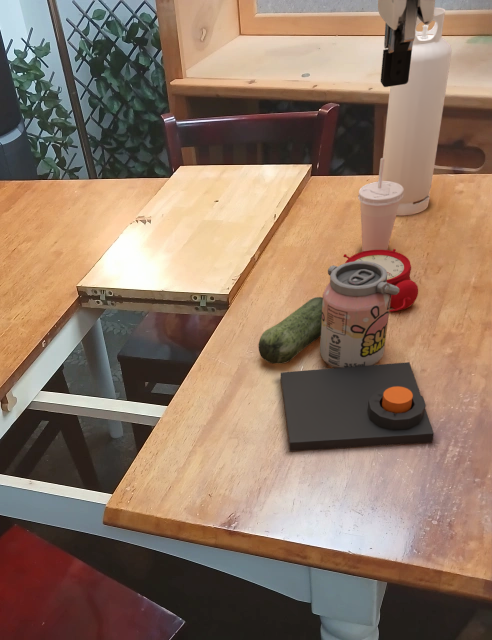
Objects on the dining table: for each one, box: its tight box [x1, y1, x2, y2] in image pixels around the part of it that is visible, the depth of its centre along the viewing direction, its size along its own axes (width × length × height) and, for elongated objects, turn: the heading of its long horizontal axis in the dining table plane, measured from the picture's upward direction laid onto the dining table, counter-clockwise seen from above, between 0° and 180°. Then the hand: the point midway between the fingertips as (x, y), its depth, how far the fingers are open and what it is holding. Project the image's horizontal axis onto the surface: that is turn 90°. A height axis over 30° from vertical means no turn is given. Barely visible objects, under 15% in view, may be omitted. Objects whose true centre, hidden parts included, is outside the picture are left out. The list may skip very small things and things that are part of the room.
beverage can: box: [319, 261, 399, 368], centre depth 93 cm, size 9×8×12 cm
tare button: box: [382, 386, 413, 413], centre depth 85 cm, size 3×3×2 cm
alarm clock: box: [343, 248, 419, 313], centre depth 105 cm, size 10×6×15 cm
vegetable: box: [258, 296, 323, 365], centre depth 99 cm, size 14×5×5 cm, turn 133°
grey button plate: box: [279, 361, 435, 452], centre depth 89 cm, size 16×14×3 cm
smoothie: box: [357, 157, 404, 252], centre depth 110 cm, size 6×6×14 cm
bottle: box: [382, 6, 453, 216], centre depth 115 cm, size 8×8×28 cm
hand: (394, 83), depth 96 cm, fingers closed
